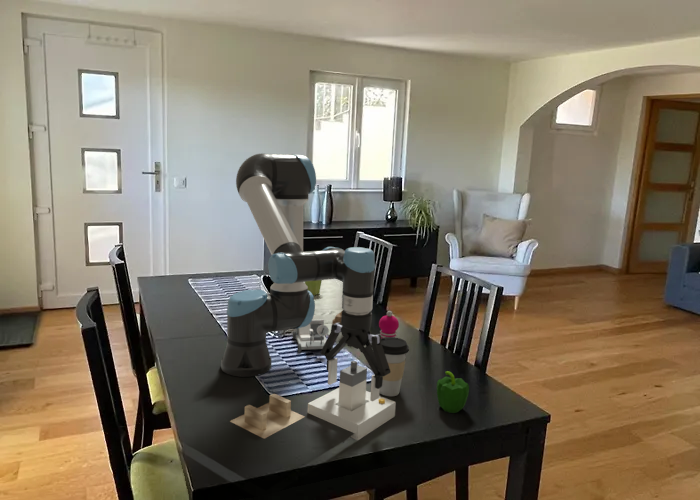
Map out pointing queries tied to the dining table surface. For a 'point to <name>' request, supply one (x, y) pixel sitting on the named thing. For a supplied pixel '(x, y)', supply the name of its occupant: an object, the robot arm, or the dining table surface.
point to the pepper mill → (388, 325)
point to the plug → (352, 386)
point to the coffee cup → (393, 364)
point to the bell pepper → (452, 393)
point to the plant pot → (314, 286)
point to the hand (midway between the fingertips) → (352, 390)
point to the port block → (353, 413)
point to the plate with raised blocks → (268, 417)
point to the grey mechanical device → (311, 335)
